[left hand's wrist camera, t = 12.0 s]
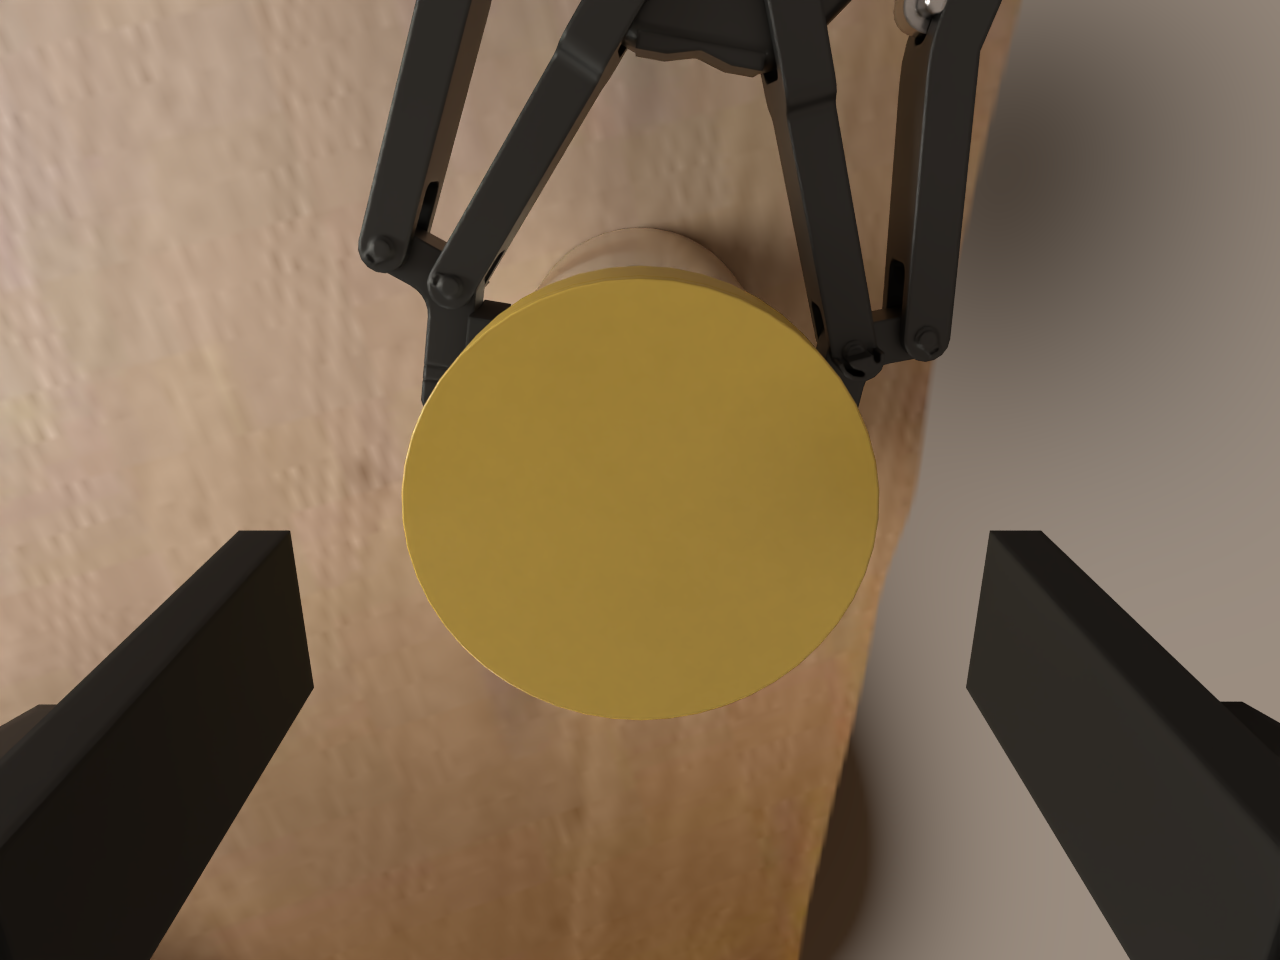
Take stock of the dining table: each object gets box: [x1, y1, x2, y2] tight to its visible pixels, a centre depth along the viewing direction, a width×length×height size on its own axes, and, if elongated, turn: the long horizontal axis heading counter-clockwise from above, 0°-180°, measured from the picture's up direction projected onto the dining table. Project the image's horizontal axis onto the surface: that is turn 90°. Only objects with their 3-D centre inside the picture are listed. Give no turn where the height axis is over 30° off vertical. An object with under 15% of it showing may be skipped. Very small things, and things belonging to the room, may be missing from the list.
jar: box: [536, 228, 745, 291], centre depth 24 cm, size 8×8×15 cm
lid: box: [402, 266, 879, 720], centre depth 18 cm, size 9×9×2 cm
